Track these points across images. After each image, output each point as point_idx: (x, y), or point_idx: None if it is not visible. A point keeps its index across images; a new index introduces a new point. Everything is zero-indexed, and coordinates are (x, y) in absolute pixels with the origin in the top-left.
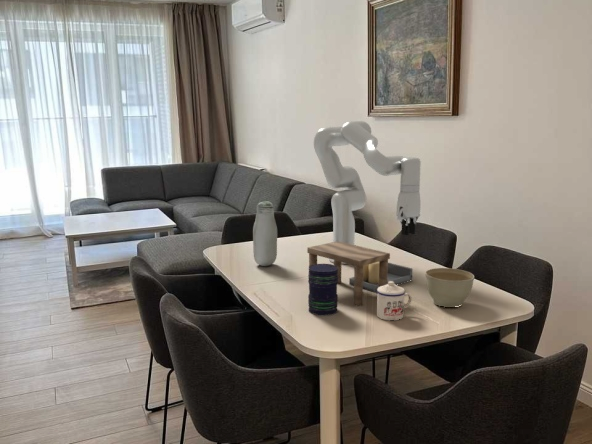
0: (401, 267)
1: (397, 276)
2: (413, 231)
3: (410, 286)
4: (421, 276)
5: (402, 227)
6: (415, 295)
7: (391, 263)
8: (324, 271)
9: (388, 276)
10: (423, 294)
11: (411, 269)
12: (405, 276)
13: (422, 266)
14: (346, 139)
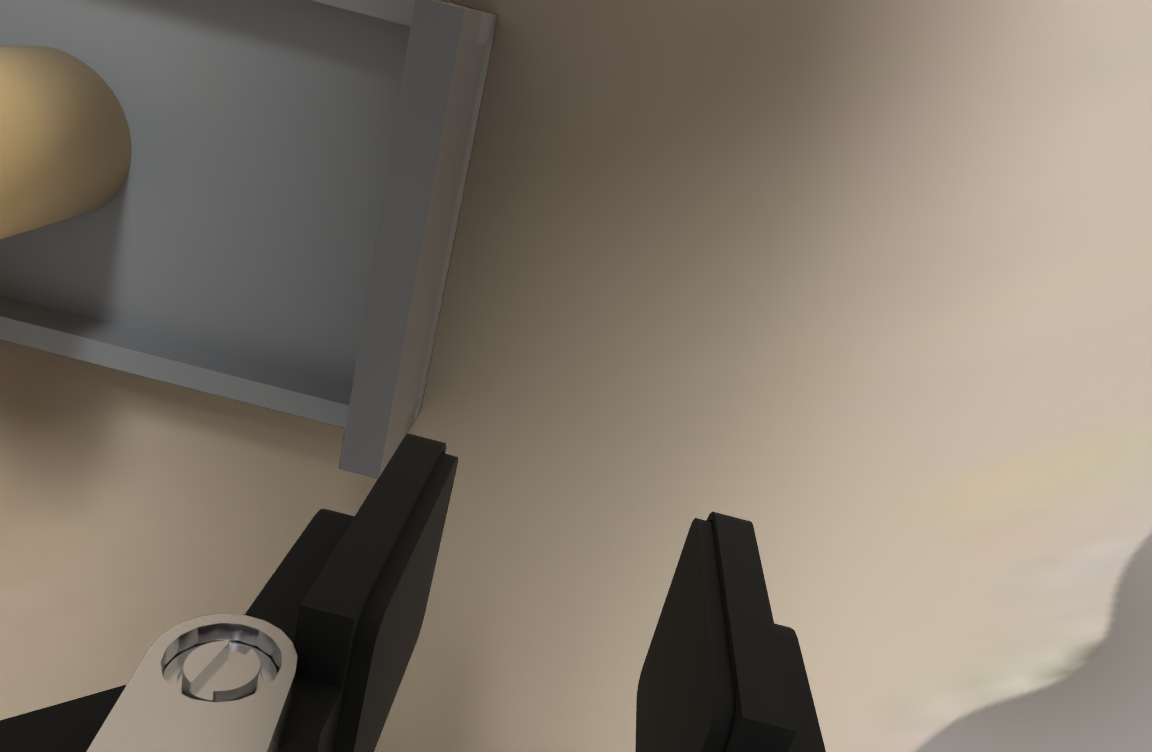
0: (363, 325)
1: (372, 250)
2: (636, 727)
3: (230, 469)
4: (650, 435)
5: (257, 607)
6: (27, 598)
7: (432, 120)
8: None
9: (297, 153)
10: (104, 642)
11: (361, 470)
12: (280, 406)
13: (1133, 281)
14: None
